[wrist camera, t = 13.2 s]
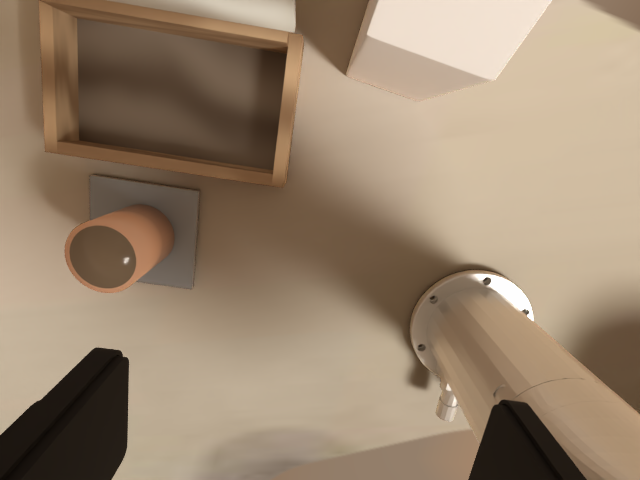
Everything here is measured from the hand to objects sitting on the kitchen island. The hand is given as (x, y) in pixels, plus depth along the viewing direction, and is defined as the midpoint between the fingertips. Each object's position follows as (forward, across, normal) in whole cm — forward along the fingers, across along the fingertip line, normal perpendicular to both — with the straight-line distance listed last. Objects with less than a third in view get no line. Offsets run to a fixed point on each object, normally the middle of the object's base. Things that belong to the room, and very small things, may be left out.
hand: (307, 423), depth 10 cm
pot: (+28, +16, +5) cm, 32 cm away
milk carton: (+28, -5, -15) cm, 33 cm away
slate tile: (+28, +16, +5) cm, 33 cm away
